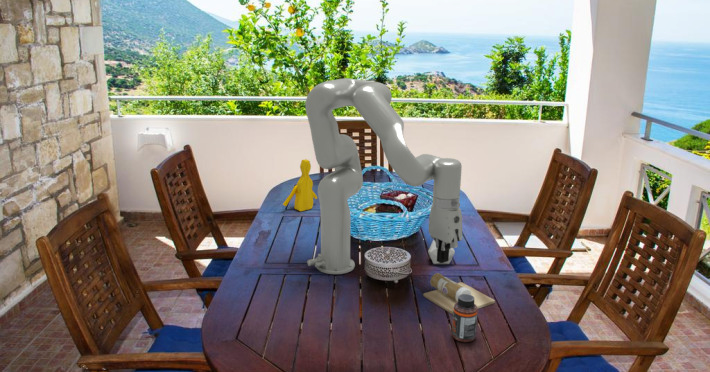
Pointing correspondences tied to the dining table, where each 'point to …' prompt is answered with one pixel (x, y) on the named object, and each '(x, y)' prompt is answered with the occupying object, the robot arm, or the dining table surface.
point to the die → (433, 253)
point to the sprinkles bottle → (448, 286)
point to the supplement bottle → (464, 318)
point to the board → (449, 302)
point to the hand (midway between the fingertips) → (442, 261)
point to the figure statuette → (303, 189)
